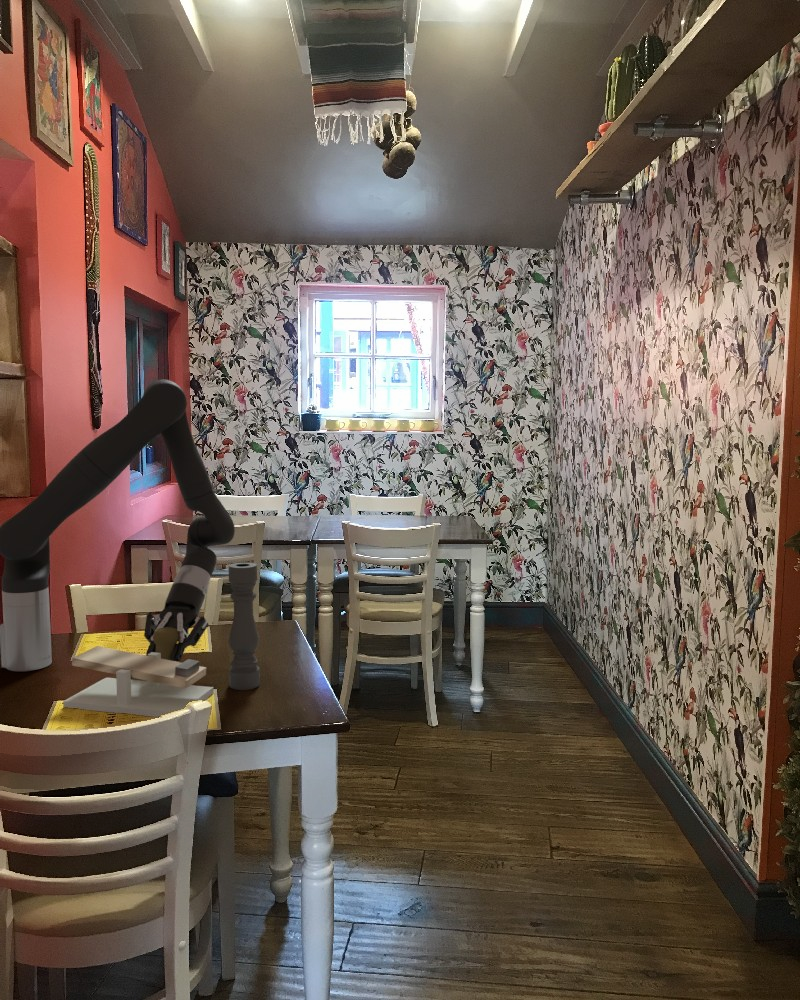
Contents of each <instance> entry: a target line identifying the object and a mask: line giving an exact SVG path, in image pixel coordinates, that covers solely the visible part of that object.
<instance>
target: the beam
mask: <svg viewBox="0 0 800 1000" xmlns="http://www.w3.org/2000/svg"><path fill="white" fill-rule="evenodd" d="M71 659H72V661H71V666H73V667H79V668H82V669H87V670H88V669H89V670H93V671H98V672H103V673H108V674H114V675H116V672H117V671H119V670H121V669H123V670H130V671H131V680H140V681H151V682H156V683H161V684H166V685H171V686H176V687H181V688H188V687H189V686H190V685H194V684H195V683H196V682H197V681H199V680H201V679H202V678H204V677H205V676H207V667H206V666H203V665H202V666H201V665H200V663H201V662H200V660H196V659H191V658H190V659H189V658H188V659H186V660H185V661H183V662H180V661H179V662H176V661H171V660H166V659H161V658H156V657H150V656H146V654H139V653H134V652H129V651H124V650H119V649H115V648H110V647H109V648H108V647H105V646H104V647H103V646H100V645H99V646H98V645H97V646H95V647H92V648H90V649H88V650H86V651H84V652H82V653H79V654H78V655H76V656H74V657H72V658H71Z"/></svg>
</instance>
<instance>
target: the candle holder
mask: <svg viewBox="0 0 800 1000" xmlns="http://www.w3.org/2000/svg"><path fill="white" fill-rule="evenodd" d="M257 581H258V564H257V563H255V562H235V563H231V564H229V565H228V582H229V584H230V586H231V589H232V593H231V594H230V595H229V596H230V597H229V598H230V599H231V600H232V602H233V619H232V622H231V623H232V624H231V628H230V633H229V636H228V645H229V647H230V649H231V650H232V651H233V652H232V654H233V655H234V656H233V658H232V659H231V660H230V663H229V665H230V668H229V670H228V683H229V684H228V685H229V688H231V689H232V690H237V691H248V690H253V689H256V688H258V687H259V686H260V683H261V682H260V681H261V680H260V679H261V678H260V677H261V676H260V675H261V673H260V671H261V670H260V667H259V666H258V665H259V660H258V659H257V657H256V655H255V653H256V650H257V648H258V646H259V643H260V636H259V633H258V627H257V623H256V621H255V616H254V600H255V599H256V598H257V593H256V592H255V591H254V589H255V586H256V585H257Z"/></svg>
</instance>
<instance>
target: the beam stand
mask: <svg viewBox="0 0 800 1000" xmlns="http://www.w3.org/2000/svg"><path fill="white" fill-rule="evenodd" d="M148 656H150V657H156V658H161V653H155V652H151V653H149V654H148ZM115 677H116V678H115ZM115 677H114V678H113V677H105V678H103V679H101V680H99V681H97V682H96V683H94V684H91V685H90V686H88V687H86V688H85V689H82V690H81V691H79V692H77V693H75V694H74V695H72V696H70V697H69V698H67V699H65V700H63V701H62V706H63V707H62V708H64V707H68V708H67V709H73V708H78V709H77V710H83V709H84V711H94V712H95V711H96V712H104V713H113V712H114V713H113V714H115V713H116V714H122V713H129V714H128V715H132V714H136V715H135V716H142V715H143V716H144V717H153V718H159V717H158V716H161V715H165V714H168V713H171V712H174V711H178V710H181V709H184V708H185V707H186V705H187V704H188V703H189V702H192V701H198V700H204V701H206V699H207V698H209V697H210V696H212V695H213V694H214V686H203V685H194V684H192V685H190V686H189V687H188V688H181V687H176V686H171V685H166V684H161V683H156V682H151V681H146V680H140V679H132V680H131V671H130V670H123V669H121V670H119V671H117V672H116V674H115ZM211 694H212V695H211Z"/></svg>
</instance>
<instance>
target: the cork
mask: <svg viewBox="0 0 800 1000" xmlns="http://www.w3.org/2000/svg"><path fill="white" fill-rule="evenodd" d="M178 638H179V633H178V631H177V629H175V628H172V627H163V628H159V629H157V630H156V629H155V632H154V634H153V641H154V643H155V644H156V650H155V653H161V659H166V660H171V656H172V653H173V650H174V648H175V645H176V643H178ZM178 662H180V661H178Z"/></svg>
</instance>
